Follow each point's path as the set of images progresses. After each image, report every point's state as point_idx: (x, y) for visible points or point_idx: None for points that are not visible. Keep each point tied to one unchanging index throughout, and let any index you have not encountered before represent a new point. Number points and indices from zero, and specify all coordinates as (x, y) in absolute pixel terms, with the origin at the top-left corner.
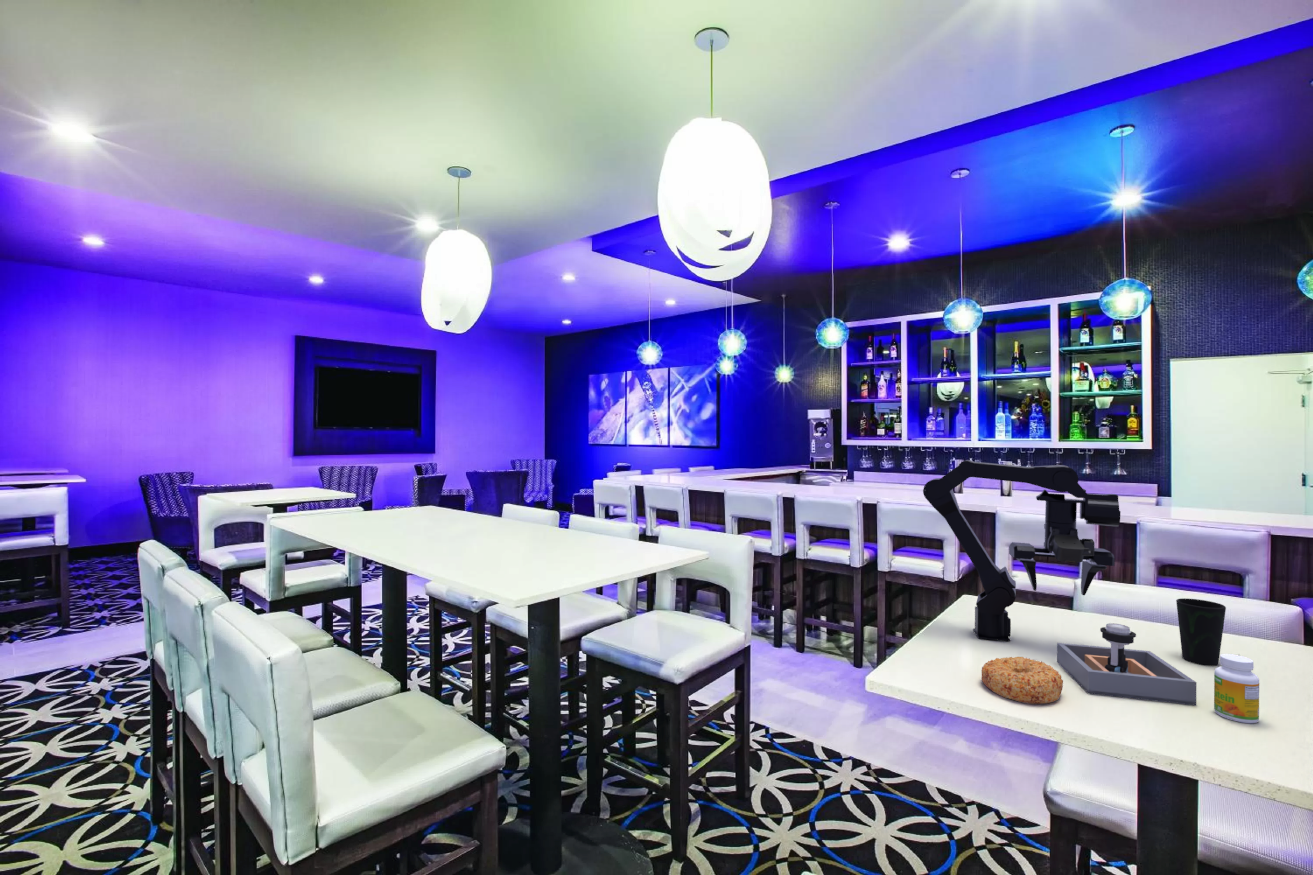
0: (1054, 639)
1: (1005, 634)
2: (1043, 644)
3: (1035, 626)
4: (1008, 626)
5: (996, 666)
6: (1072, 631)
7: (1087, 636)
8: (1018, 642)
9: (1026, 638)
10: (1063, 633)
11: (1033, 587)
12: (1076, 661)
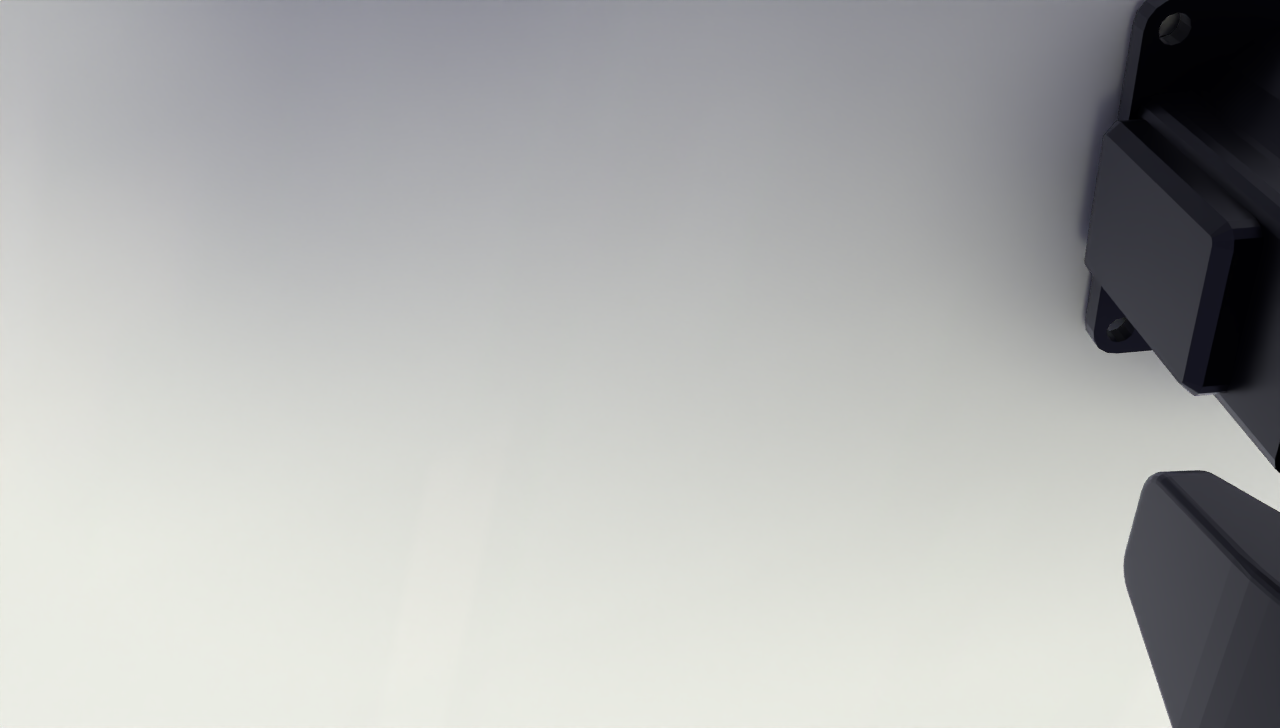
0: (522, 335)
1: (1191, 105)
2: (712, 68)
3: (619, 701)
4: (1198, 173)
5: None
6: (273, 680)
7: (138, 577)
8: (1022, 29)
9: (854, 248)
10: (377, 585)
11: (1276, 512)
12: None
